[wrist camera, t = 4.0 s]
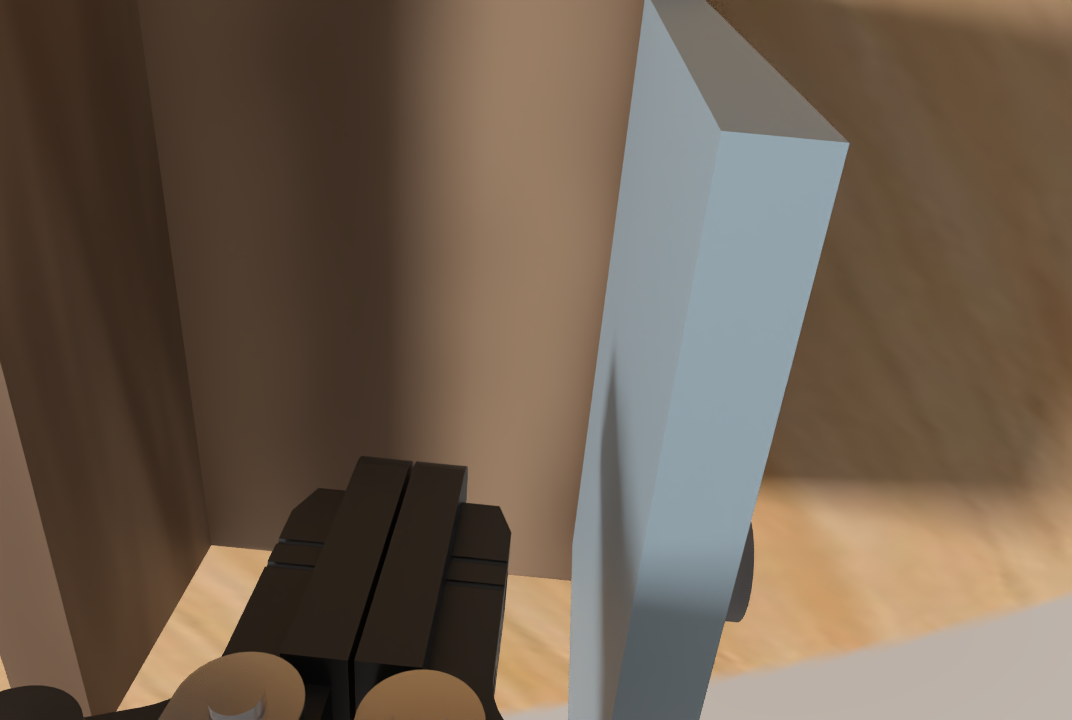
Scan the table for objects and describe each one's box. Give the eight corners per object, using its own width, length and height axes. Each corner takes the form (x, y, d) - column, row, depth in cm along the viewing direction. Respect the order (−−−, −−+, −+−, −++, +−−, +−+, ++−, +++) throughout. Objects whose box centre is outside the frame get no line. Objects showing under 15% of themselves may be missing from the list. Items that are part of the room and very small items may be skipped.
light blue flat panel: (572, 544, 22) (561, 988, 13) (646, -10, 15) (721, 131, 7) (643, 551, 22) (679, 1000, 13) (746, 0, 15) (953, 153, 7)
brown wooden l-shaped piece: (695, -102, 18) (782, -90, 10) (602, 511, 25) (609, 793, 17) (113, -156, 18) (-269, -188, 10) (199, 471, 25) (25, 734, 18)
